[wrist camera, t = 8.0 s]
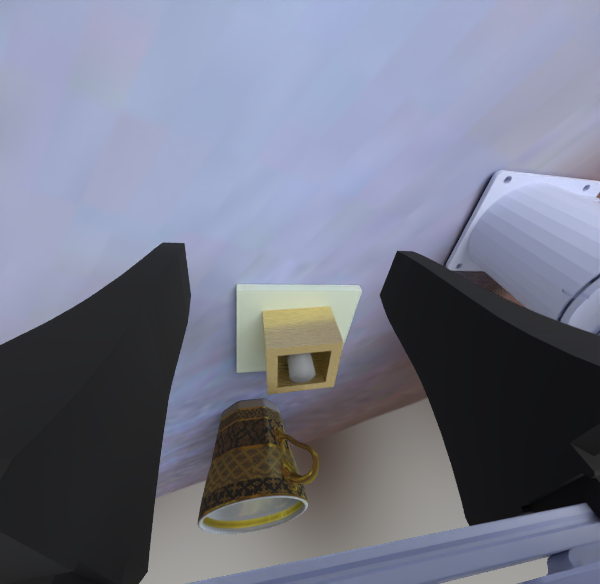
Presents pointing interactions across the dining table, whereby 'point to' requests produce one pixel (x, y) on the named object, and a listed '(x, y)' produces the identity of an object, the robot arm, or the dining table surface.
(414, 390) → the dining table surface
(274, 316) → the wooden square frame
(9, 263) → the dining table surface
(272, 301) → the post plate
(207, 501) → the ceramic cup
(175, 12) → the dining table surface
